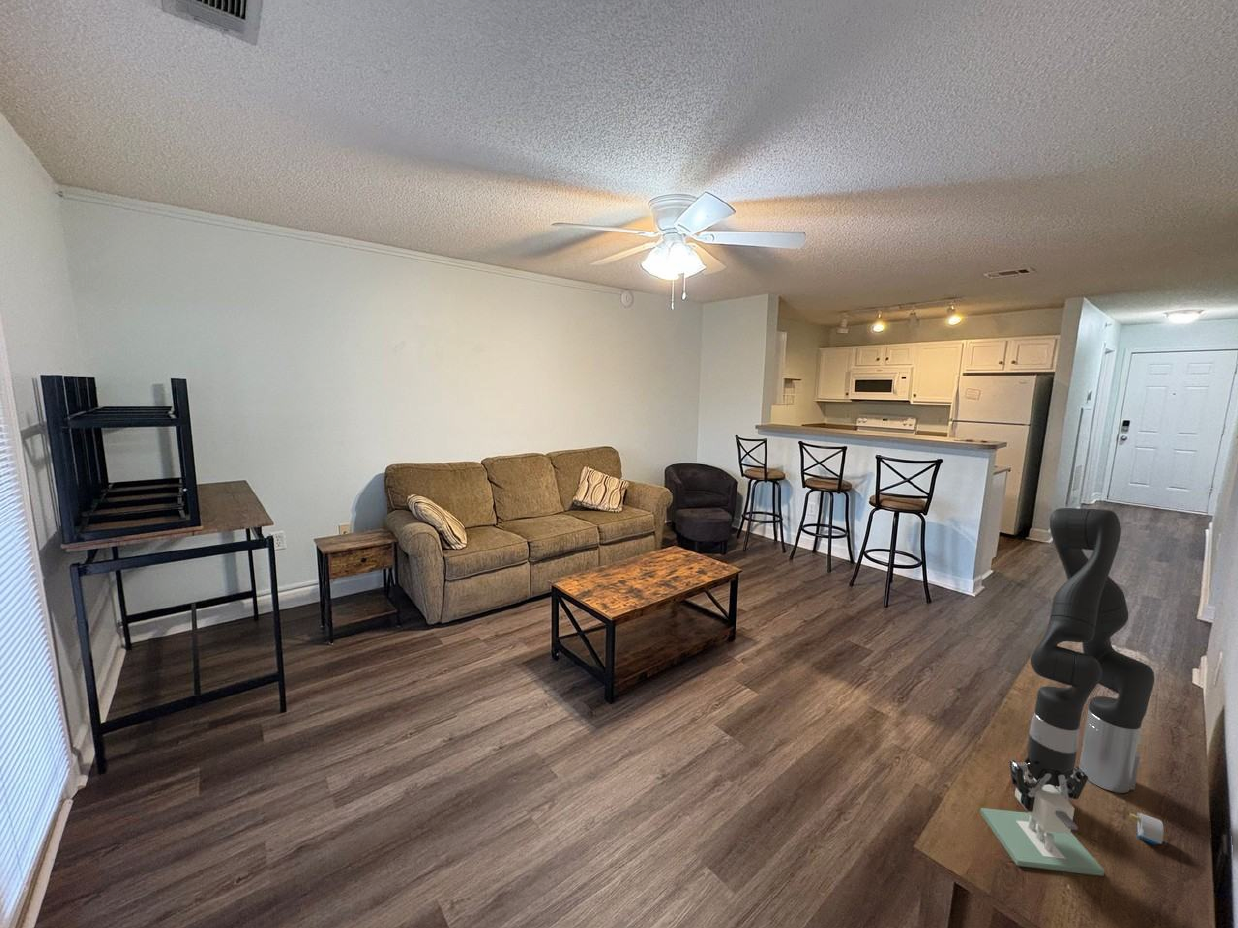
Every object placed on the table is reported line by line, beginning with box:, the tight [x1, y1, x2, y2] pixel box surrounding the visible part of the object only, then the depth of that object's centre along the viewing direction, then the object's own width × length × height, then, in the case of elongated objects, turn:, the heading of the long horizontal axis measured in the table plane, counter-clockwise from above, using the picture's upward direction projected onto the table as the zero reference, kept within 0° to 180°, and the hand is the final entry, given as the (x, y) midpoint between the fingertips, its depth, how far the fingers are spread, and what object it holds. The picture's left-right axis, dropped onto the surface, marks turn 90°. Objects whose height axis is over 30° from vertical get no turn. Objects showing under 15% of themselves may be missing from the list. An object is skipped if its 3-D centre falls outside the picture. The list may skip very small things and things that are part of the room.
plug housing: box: [1014, 771, 1079, 834], centre depth 103 cm, size 5×12×6 cm, turn 172°
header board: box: [979, 807, 1105, 876], centre depth 106 cm, size 16×13×5 cm
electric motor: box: [1129, 812, 1165, 846], centre depth 108 cm, size 7×5×5 cm
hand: (1041, 809), depth 105 cm, fingers closed on plug housing, 5 cm apart
